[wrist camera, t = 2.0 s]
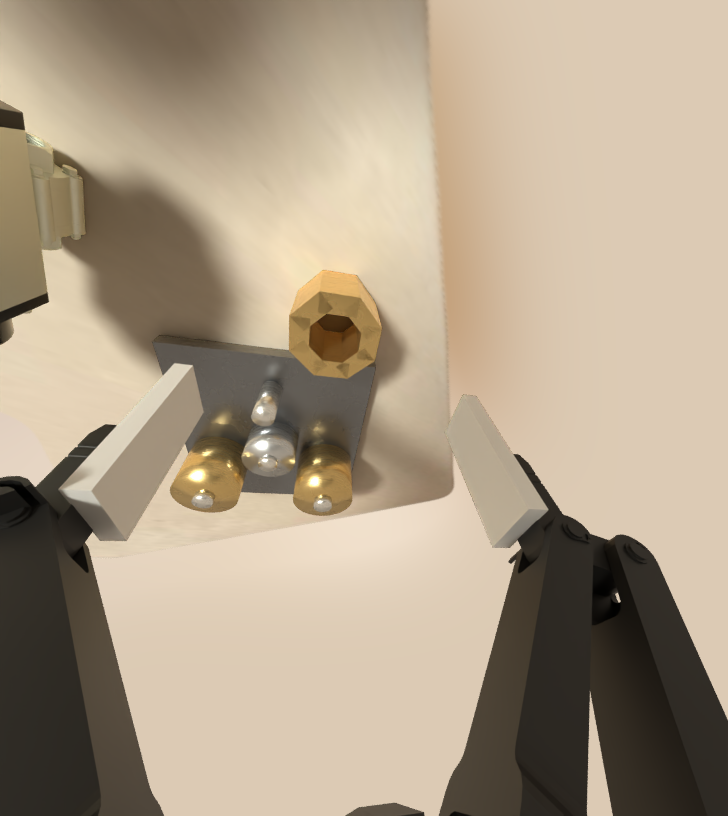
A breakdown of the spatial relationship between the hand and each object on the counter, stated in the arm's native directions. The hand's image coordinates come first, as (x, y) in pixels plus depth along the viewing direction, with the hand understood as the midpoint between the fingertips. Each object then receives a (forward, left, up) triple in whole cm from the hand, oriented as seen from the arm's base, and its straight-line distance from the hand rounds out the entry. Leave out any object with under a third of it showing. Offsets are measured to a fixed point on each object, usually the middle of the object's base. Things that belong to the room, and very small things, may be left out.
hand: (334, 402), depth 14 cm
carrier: (+14, -5, -11) cm, 18 cm away
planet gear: (0, 0, -11) cm, 11 cm away
